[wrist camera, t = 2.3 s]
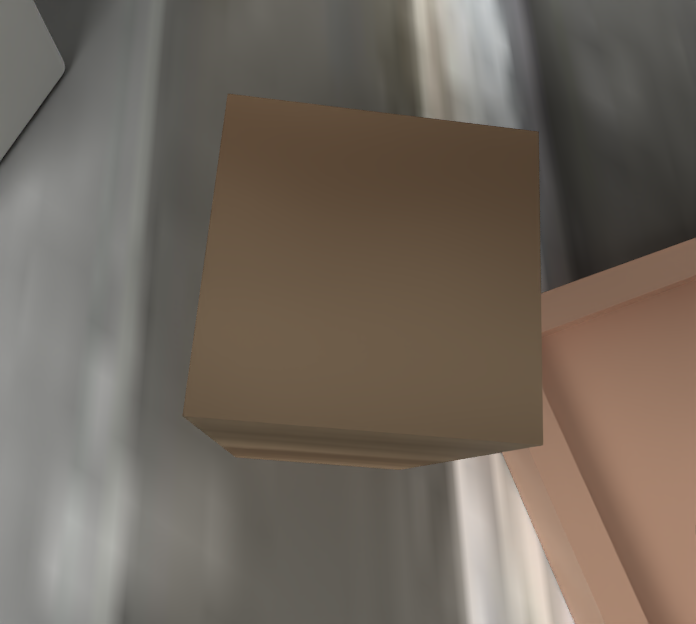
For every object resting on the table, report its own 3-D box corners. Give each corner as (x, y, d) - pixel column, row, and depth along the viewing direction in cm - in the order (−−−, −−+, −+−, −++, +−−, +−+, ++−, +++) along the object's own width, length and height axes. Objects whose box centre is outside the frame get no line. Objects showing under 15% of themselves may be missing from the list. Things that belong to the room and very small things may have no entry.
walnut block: (399, 469, 18) (543, 445, 8) (235, 457, 17) (182, 415, 8) (406, 313, 19) (538, 131, 9) (253, 298, 19) (228, 94, 9)
